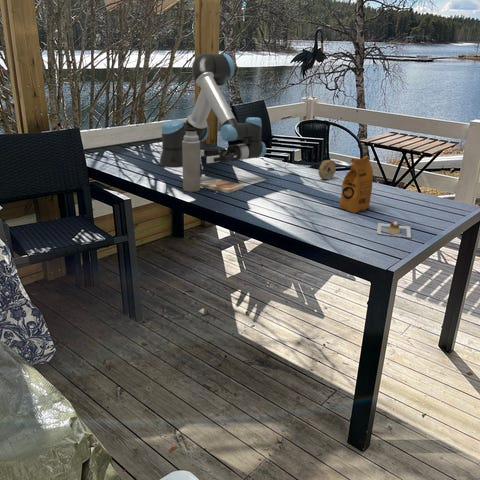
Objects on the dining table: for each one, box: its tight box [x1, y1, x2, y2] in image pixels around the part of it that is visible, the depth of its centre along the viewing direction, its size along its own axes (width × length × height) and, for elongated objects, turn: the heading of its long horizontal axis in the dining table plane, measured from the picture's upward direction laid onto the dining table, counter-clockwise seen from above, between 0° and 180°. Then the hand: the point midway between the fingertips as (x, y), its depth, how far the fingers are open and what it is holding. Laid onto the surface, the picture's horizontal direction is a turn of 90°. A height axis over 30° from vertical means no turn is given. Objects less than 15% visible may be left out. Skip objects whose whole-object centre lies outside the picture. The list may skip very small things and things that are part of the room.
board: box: [200, 175, 245, 194], centre depth 236 cm, size 24×12×2 cm, turn 54°
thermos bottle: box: [182, 128, 201, 193], centre depth 225 cm, size 8×8×28 cm
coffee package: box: [339, 155, 374, 214], centre depth 206 cm, size 10×12×22 cm
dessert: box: [376, 220, 412, 239], centre depth 185 cm, size 12×12×5 cm
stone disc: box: [318, 159, 337, 180], centre depth 252 cm, size 10×4×10 cm, turn 128°
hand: (199, 157), depth 226 cm, fingers open, 13 cm apart
